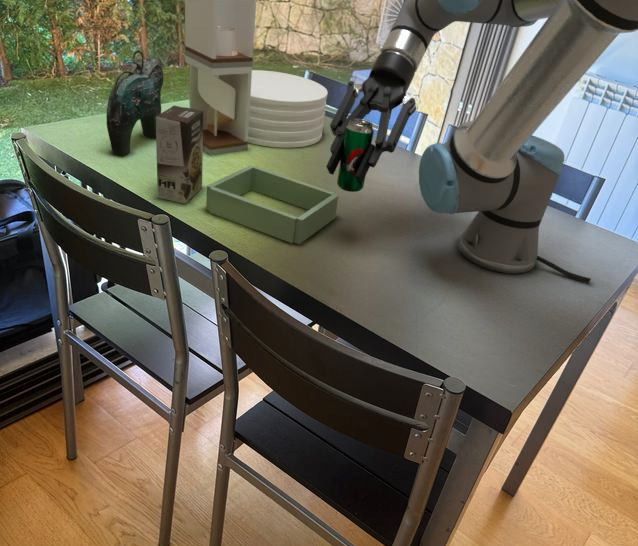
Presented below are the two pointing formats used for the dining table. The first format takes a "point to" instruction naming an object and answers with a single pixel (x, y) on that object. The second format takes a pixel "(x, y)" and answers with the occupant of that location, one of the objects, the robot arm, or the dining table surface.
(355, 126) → the soda can
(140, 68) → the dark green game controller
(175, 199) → the coffee box
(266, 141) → the plate stack
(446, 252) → the dining table surface
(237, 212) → the bin
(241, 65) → the white tower
